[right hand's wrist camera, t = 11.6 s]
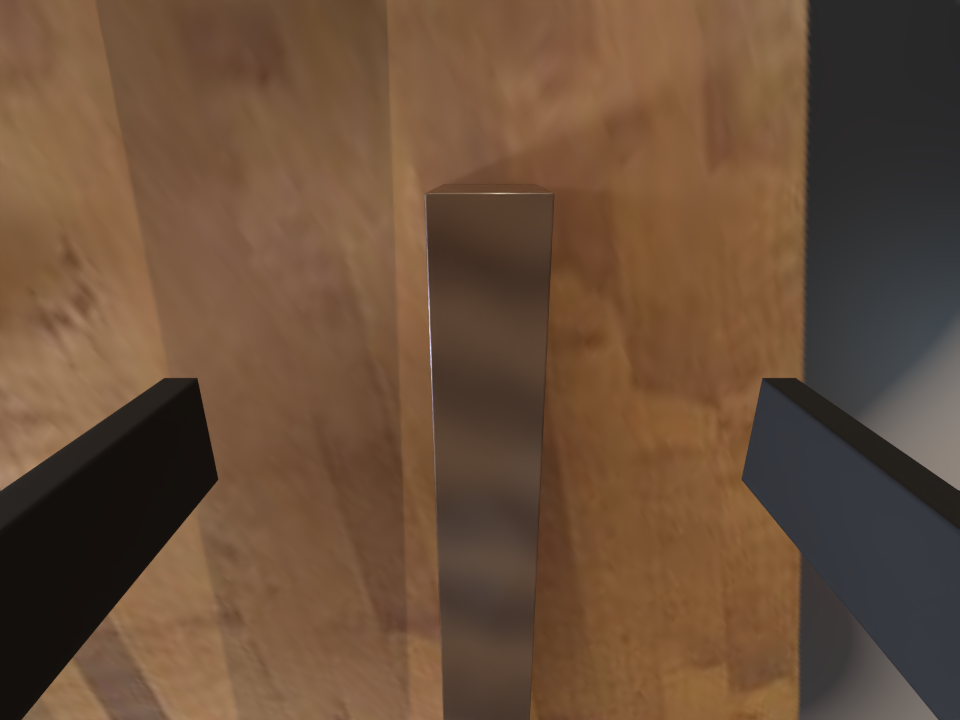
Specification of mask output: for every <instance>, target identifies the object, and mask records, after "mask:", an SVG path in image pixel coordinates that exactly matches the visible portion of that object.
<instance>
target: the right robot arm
mask: <svg viewBox="0 0 960 720" xmlns="http://www.w3.org/2000/svg"><path fill="white" fill-rule="evenodd" d="M217 481H218V476H217V471H216V466H215V461H214V456H213V451H212V447H211V442H210V437H209V432H208V427H207V422H206V418H205V413H204V408H203V403H202V398H201V393H200V388H199V384H198V379H197V378H164V379H162V380H161V381H160V382H158V383H157V384H155V385H154V386H152V387H151V388H149V389H148V390H146V391H145V392H144V393H142V394H141V395H139V396H138V397H136V398H135V399H133V400H132V401H131V402H129V403H128V404H126V405H125V406H123V407H122V408H120V409H119V410H117V411H116V412H115V413H113V414H112V415H110V416H109V417H107V418H106V419H104V420H103V421H102V422H100V423H99V424H97V425H96V426H94V427H93V428H91V429H90V430H89V431H87V432H86V433H84V434H83V435H81V436H80V437H78V438H77V439H75V440H74V441H73V442H71V443H70V444H68V445H67V446H65V447H64V448H62V449H61V450H60V451H58V452H57V453H55V454H54V455H52V456H51V457H49V458H48V459H46V460H45V461H44V462H42V463H41V464H39V465H38V466H36V467H35V468H33V469H32V470H31V471H29V472H28V473H26V474H25V475H23V476H22V477H20V478H19V479H17V480H16V481H15V482H13V483H12V484H10V485H9V486H7V487H6V488H4V489H3V490H2V491H0V720H22V718H23V717H24V716H25V715H26V714H27V712H28V711H29V710H30V709H31V707H32V706H33V705H34V704H35V703H36V701H37V700H38V699H39V698H40V696H41V695H42V694H43V693H44V692H45V690H46V689H47V688H48V687H49V686H50V684H51V683H52V682H53V681H54V679H55V678H56V677H57V676H58V675H59V673H60V672H61V671H62V670H63V668H64V667H65V666H66V665H67V664H68V662H69V661H70V660H71V659H72V657H73V656H74V655H75V654H76V653H77V651H78V650H79V649H80V648H81V646H82V645H83V644H84V643H85V642H86V640H87V639H88V638H89V637H90V635H91V634H92V633H93V632H94V631H95V629H96V628H97V627H98V626H99V625H100V623H101V622H102V621H103V620H104V618H105V617H106V616H107V615H108V614H109V612H110V611H111V610H112V609H113V607H114V606H115V605H116V604H117V603H118V601H119V600H120V599H121V598H122V596H123V595H124V594H125V593H126V592H127V590H128V589H129V588H130V587H131V585H132V584H133V583H134V582H135V581H136V579H137V578H138V577H139V576H140V575H141V573H142V572H143V571H144V570H145V568H146V567H147V566H148V565H149V564H150V562H151V561H152V560H153V559H154V557H155V556H156V555H157V554H158V553H159V551H160V550H161V549H162V548H163V546H164V545H165V544H166V543H167V542H168V540H169V539H170V538H171V537H172V535H173V534H174V533H175V532H176V531H177V529H178V528H179V527H180V526H181V524H182V523H183V522H184V521H185V520H186V518H187V517H188V516H189V515H190V514H191V512H192V511H193V510H194V509H195V507H196V506H197V505H198V504H199V503H200V501H201V500H202V499H203V498H204V496H205V495H206V494H207V493H208V492H209V490H210V489H211V488H212V487H213V485H214V484H215V483H216V482H217ZM742 481H743V482H744V483H745V484H746V485H747V487H748V488H749V489H750V490H751V492H752V493H753V494H754V495H755V496H756V498H757V499H758V500H759V501H760V503H761V504H762V505H763V506H764V507H765V509H766V510H767V511H768V512H769V514H770V515H771V516H772V517H773V518H774V520H775V521H776V522H777V523H778V524H779V526H780V527H781V528H782V529H783V531H784V532H785V533H786V534H787V535H788V537H789V538H790V539H791V540H792V542H793V543H794V544H795V545H796V546H797V548H798V549H799V550H800V551H801V553H802V554H803V555H804V556H805V557H806V559H807V560H808V561H809V562H810V563H811V565H812V566H813V567H814V568H815V570H816V571H817V572H818V573H819V575H820V576H821V577H822V578H823V579H824V581H825V582H826V583H827V584H828V585H829V587H830V588H831V589H832V590H833V592H834V593H835V594H836V595H837V596H838V598H839V599H840V600H841V601H842V603H843V604H844V605H845V606H846V607H847V609H848V610H849V611H850V612H851V614H852V615H853V616H854V617H855V618H856V620H857V621H858V622H859V623H860V624H861V626H862V627H863V628H864V629H865V631H866V632H867V633H868V634H869V635H870V637H871V638H872V639H873V640H874V642H875V643H876V644H877V645H878V646H879V648H880V649H881V650H882V651H883V653H884V654H885V655H886V656H887V657H888V659H889V660H890V661H891V662H892V664H893V665H894V666H895V667H896V668H897V670H898V671H899V672H900V673H901V675H902V676H903V677H904V678H905V679H906V681H907V682H908V683H909V684H910V686H911V687H912V688H913V689H914V690H915V692H916V693H917V694H918V695H919V696H920V698H921V699H922V700H923V701H924V703H925V704H926V705H927V706H928V707H929V709H930V710H931V711H932V712H933V714H934V715H935V716H936V717H937V718H938V720H960V491H959V490H957V489H955V488H954V487H953V486H951V485H950V484H948V483H947V482H945V481H944V480H942V479H941V478H940V477H938V476H937V475H935V474H934V473H932V472H931V471H929V470H928V469H927V468H925V467H924V466H922V465H921V464H919V463H918V462H916V461H915V460H913V459H912V458H911V457H909V456H908V455H906V454H905V453H903V452H902V451H900V450H899V449H898V448H896V447H895V446H893V445H892V444H890V443H889V442H887V441H886V440H885V439H883V438H882V437H880V436H879V435H877V434H876V433H874V432H873V431H871V430H870V429H869V428H867V427H866V426H864V425H863V424H861V423H860V422H858V421H857V420H855V419H854V418H853V417H851V416H850V415H848V414H847V413H845V412H844V411H842V410H841V409H840V408H838V407H837V406H835V405H834V404H832V403H831V402H829V401H828V400H827V399H825V398H824V397H822V396H821V395H819V394H818V393H816V392H815V391H814V390H812V389H811V388H809V387H808V386H806V385H805V384H803V383H802V382H800V381H799V380H798V379H796V378H763V379H762V384H761V388H760V393H759V398H758V403H757V408H756V413H755V418H754V422H753V427H752V432H751V437H750V442H749V447H748V451H747V456H746V461H745V466H744V471H743V476H742Z"/></svg>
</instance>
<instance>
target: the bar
mask: <svg viewBox="0 0 960 720" xmlns="http://www.w3.org/2000/svg"><path fill="white" fill-rule="evenodd" d="M553 208H554V193H552V192H550V191H548V190H546V189H544V188H542V187H539V186H537V185H441V186H439V187H437V188H435V189H433V190H431V191H429V192H426V193H425V220H426V248H427V276H428V304H429V332H430V360H431V388H432V415H433V443H434V471H435V499H436V527H437V555H438V583H439V611H440V638H441V666H442V694H443V720H530V702H531V680H532V659H533V637H534V616H535V594H536V573H537V551H538V530H539V508H540V487H541V466H542V444H543V423H544V401H545V380H546V358H547V337H548V315H549V294H550V272H551V251H552V230H553Z"/></svg>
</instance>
